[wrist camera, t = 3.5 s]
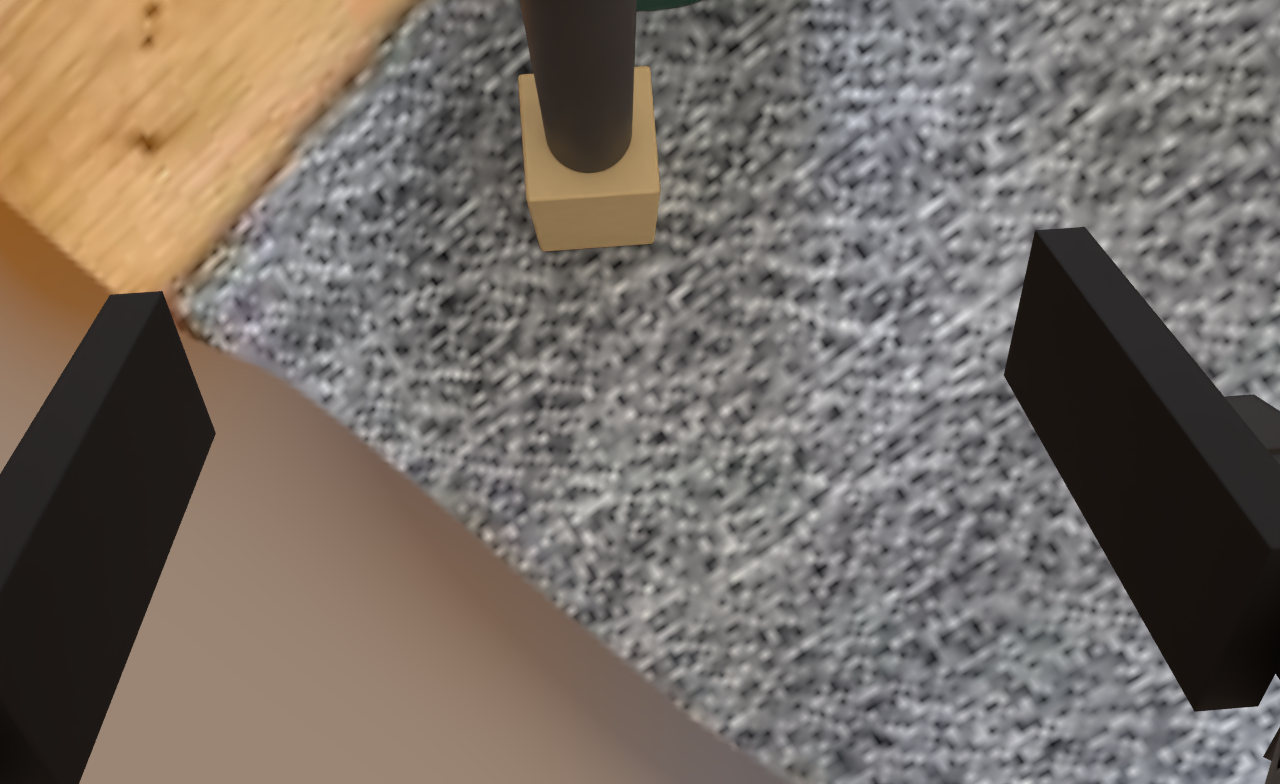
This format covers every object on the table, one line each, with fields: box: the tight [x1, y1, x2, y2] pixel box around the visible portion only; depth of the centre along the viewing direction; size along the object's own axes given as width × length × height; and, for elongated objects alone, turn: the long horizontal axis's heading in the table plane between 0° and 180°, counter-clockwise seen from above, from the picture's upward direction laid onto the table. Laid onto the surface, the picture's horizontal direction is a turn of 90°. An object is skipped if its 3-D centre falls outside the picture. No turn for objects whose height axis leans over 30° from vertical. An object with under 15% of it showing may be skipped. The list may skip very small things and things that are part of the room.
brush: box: [518, 0, 660, 251], centre depth 24 cm, size 3×3×16 cm
